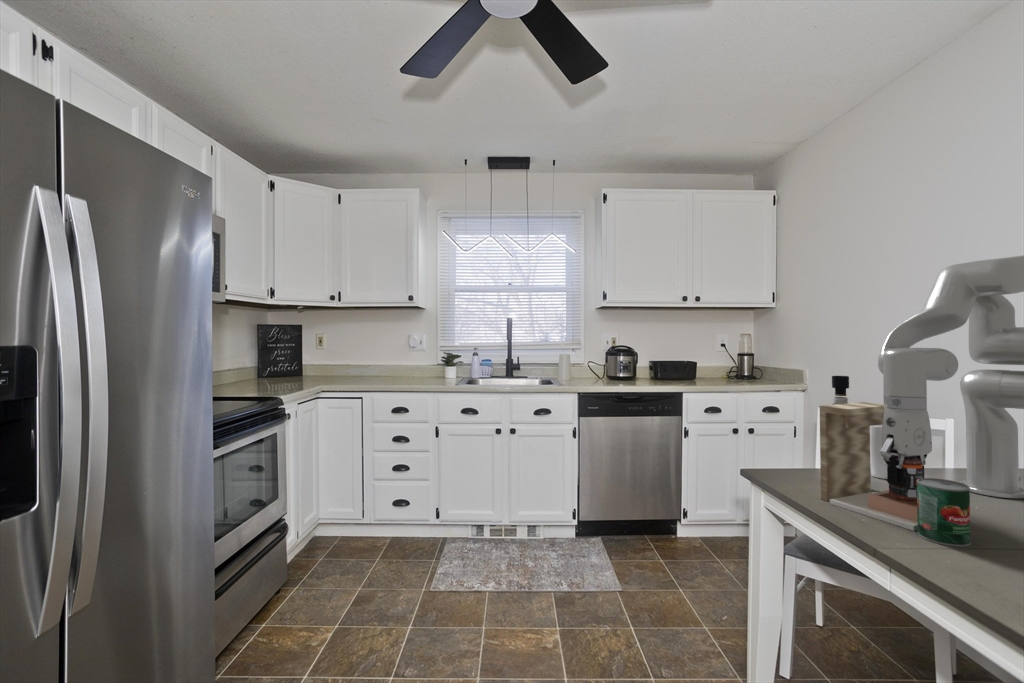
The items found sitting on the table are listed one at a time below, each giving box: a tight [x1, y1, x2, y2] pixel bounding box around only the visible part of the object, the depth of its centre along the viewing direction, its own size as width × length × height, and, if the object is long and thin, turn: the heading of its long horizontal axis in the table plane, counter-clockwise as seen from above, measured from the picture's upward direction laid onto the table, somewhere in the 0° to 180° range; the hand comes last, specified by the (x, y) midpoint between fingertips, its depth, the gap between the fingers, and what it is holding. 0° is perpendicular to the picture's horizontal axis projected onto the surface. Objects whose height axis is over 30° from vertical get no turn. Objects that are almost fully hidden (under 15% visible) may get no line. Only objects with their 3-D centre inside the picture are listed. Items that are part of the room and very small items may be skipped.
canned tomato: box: [917, 477, 972, 548], centre depth 94 cm, size 8×8×11 cm
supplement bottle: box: [888, 451, 924, 502], centre depth 107 cm, size 6×6×11 cm
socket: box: [829, 490, 918, 532], centre depth 109 cm, size 16×18×4 cm
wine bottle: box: [831, 375, 850, 405], centre depth 129 cm, size 6×6×30 cm
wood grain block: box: [819, 401, 885, 502], centre depth 118 cm, size 16×7×24 cm, turn 110°
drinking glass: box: [870, 425, 887, 480], centre depth 136 cm, size 7×7×15 cm
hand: (905, 482), depth 106 cm, fingers closed on supplement bottle, 6 cm apart
